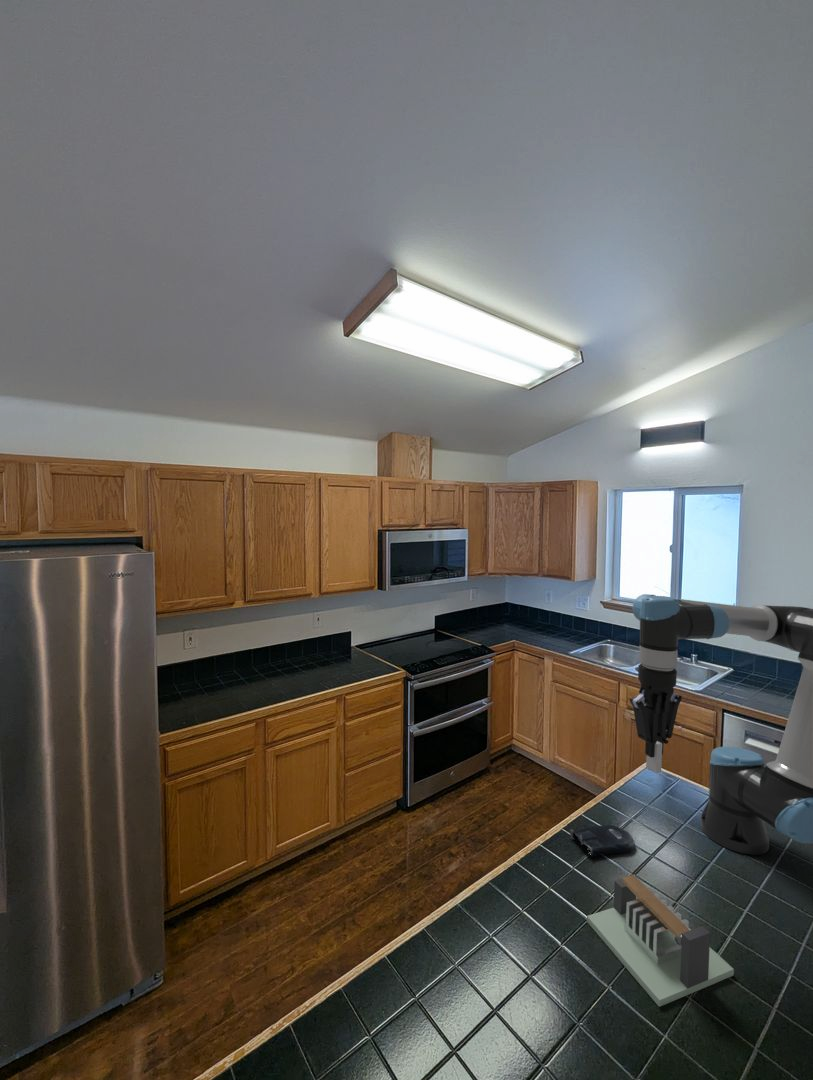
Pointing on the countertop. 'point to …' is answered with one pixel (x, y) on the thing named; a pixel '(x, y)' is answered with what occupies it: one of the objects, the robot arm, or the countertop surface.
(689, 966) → the board
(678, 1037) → the countertop surface
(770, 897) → the countertop surface
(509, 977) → the countertop surface
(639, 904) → the heatsink
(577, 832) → the electronic device
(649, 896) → the strap
